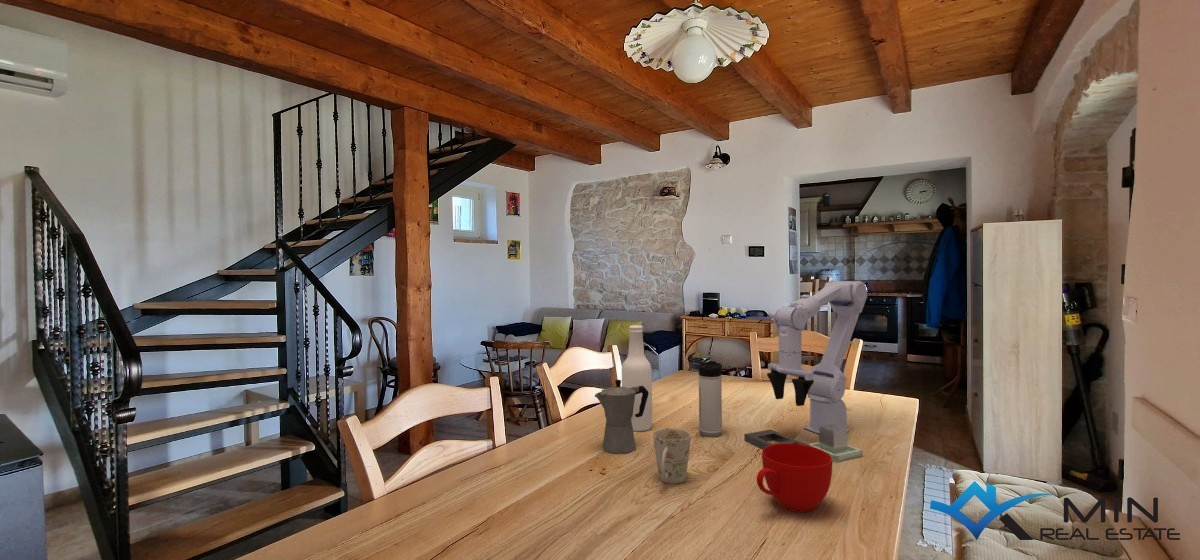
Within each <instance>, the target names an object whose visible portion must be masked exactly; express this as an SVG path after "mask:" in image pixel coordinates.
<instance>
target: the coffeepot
mask: <svg viewBox="0 0 1200 560" xmlns="http://www.w3.org/2000/svg"><path fill="white" fill-rule="evenodd" d="M639 393H642V394H643V395H642V398H641V404H640V406H639V413H637V414H635V417H641V416H642V415H643V412H644V409H645V405H646V401H647V398H648V394H649V393H648V390H647V389H646V388H645V387H644V386H638V387H631V388H626V387H622V379H615V386H612V387H608V388H604V389H601V391H599V392H597V393H595V394H594V398H596V399H597V400H598V401H599V403H600V404H601V406H602V408H603V410H604V417H605V427H604V434H603V435H604V436H603V441H602V450H603V451H604V452H606V453H609V454H614V455H623V454H630V453H632V452H634V451H636V449H637V446H636V440H635V433H634V431H633V427H632V422H631V417H632V416H633V408H634V400H635V395H636V394H639Z"/></svg>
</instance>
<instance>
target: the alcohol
mask: <svg viewBox="0 0 1200 560" xmlns="http://www.w3.org/2000/svg"><path fill="white" fill-rule="evenodd" d="M628 328H629V330H628V332H629V336H628V337H629V338H628V353H627V357H626V359H625V360H624V361H623V363H622V365H621V366H622V367H621V387H626V388H631V387H638V386H644V387H645V388H646V389H647V390H648V393H649V394H648V398H647V401H646V405H645V409H644V412H643V415H642V416H641V417H635V414H637V413H639V406H640V404H641V398H642V395H643V394H642V393H639V394H636V395H635V400H634V408H633V416H632V417H631V422H632V427H633V432H645V431H646V432H647V431H649V430H651V428H652V426H653V384H652V383H653V381H652V380H653V377H652V376H653V375H652V374H653V373H652V369H653V368H652V365H651V363H650V361H649V360H648V358H646V355H645V348H644V347H645V346H644V338H643V337H644V336H643V335H644V334H643V332H644V330H643V328H644V327H643V325H638V324H637V325H636V324H635V325H630V326H629V327H628Z"/></svg>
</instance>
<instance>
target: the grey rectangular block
mask: <svg viewBox="0 0 1200 560" xmlns="http://www.w3.org/2000/svg"><path fill="white" fill-rule="evenodd" d="M847 429H848V428H847ZM847 429H846V428H843V427H840V426H837V425H834V424H830V425H824V426H819V434H818V435H819V439H818V440H819V441H818V442H819V448H820V449H823V450H825V451H828V452H830V453H833V454H835V455H836V454H840V453H845V452H847V445H848V431H847Z"/></svg>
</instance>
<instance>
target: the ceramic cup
mask: <svg viewBox="0 0 1200 560" xmlns="http://www.w3.org/2000/svg"><path fill="white" fill-rule="evenodd" d="M772 444H773V443H772ZM761 460H762V468H761V469H760V470H759V471H758V472H757V475H756V484H757V486H758V489H760V490H761V491H762V492H763V493H765V494H766V495H770V496H773V497H774V498H775V500H776V501H777V502H778V503H779V505H780V506H781V507H783V508H784V509H786V510H789V511H792V512H797V513H808V512H811V511H813V510H815V508H816V507H817V506H818V505H820V504H821V502H823V500H824V499H825V498H826V496H827V494H828V491H829V490H830V486H831V482H832V476H833V475H832V474H833V461H832V457H831V456H830V455H829V454H828V453H827V452H825V451H823V450H821V449H818V448H815V447H811V446H807V445H801V444H792V443H781V444H773V445H769V446H767V447H765V448H764V449H762V451H761ZM764 479H765V482H766V485H767V487H768V489H767V488H766V487H765V485H764Z"/></svg>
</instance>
